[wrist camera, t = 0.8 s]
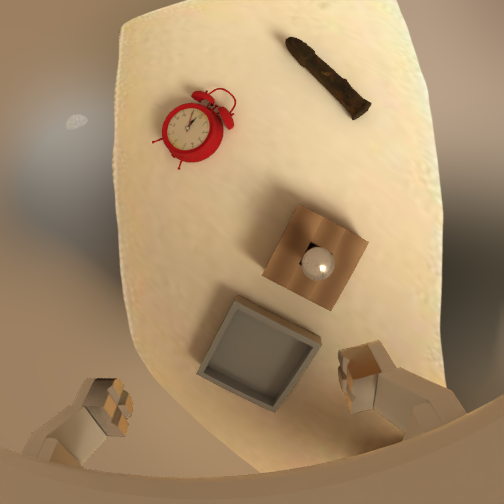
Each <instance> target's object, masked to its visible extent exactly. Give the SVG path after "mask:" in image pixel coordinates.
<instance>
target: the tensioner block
mask: <svg viewBox="0 0 504 504" xmlns="http://www.w3.org/2000/svg"><path fill="white" fill-rule="evenodd" d="M368 243H369V242H368V241H366V240H364V239H362V238H361V237H359V236H357V235H355V234H354V233H352V232H350V231H348V230H346V229H345V228H343V227H341V226H339V225H337V224H335V223H334V222H332V221H330V220H328V219H326V218H324V217H322V216H320V215H319V214H317V213H315V212H313V211H311V210H309V209H307V208H305V207H303V206H301V205H300V204H298V206H297V208H296V210H295V212H294V214H293V216H292V218H291V220H290V222H289V224H288V226H287V228H286V230H285V232H284V234H283V236H282V238H281V239H280V241H279V243H278V245H277V247H276V249H275V251H274V253H273V255H272V257H271V259H270V261H269V263H268V264H267V266H266V268H265V270H264V272H263V274H262V276H264V277H266V278H268V279H269V280H271V281H273V282H275V283H277V284H279V285H281V286H283V287H285V288H287V289H289V290H291V291H292V292H294V293H296V294H298V295H300V296H302V297H304V298H306V299H308V300H310V301H312V302H314V303H316V304H318V305H320V306H322V307H323V308H325V309H327V310H329V311H331V310H332V308H333V307H334V305H335V303H336V301H337V300H338V298H339V296H340V294H341V293H342V291H343V289H344V287H345V286H346V284H347V282H348V280H349V279H350V277H351V275H352V273H353V271H354V269H355V268H356V266H357V264H358V262H359V260H360V258H361V256H362V254H363V253H364V251H365V249H366V247H367V245H368ZM312 246H317V247H322V248H325V249H327V250H328V251H329V252H330V253H331V254H332V256H333V258H334V263H335V264H334V270H333V272H332V273H331V275H330V276H329V277H327V278H326V279H323V280H312V279H310V278H309V277H307V276H306V275H305V273H304V272H303V269H302V258H303V256H304V254H305V253H306V251H307V249H308V248H310V247H312Z"/></svg>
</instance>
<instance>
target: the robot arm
mask: <svg viewBox="0 0 504 504" xmlns="http://www.w3.org/2000/svg"><path fill="white" fill-rule="evenodd" d="M338 359H339V362H340V366H339V367H338V375H339V382H340V386H341V389H342V392H344V393H346V403H347V406H348V408H349V411H350V414H353V413H357V412H361V411H365V410H369V409H373V410H375V411H376V412H377V413H379V414H380V415H382V416H383V417H384V418H386V419H387V420H389V421H390V422H391V423H393V424H394V425H396V426H397V427H398V428H400V429H401V430H403V431H404V432H405V434H404V437H403V440H402V441H401V442H398V443H395V444H392V445H389V446H386V447H383V448H380V449H377V450H373V451H370V452H367V453H363V454H359V455H356V456H352V457H348V458H344V459H340V460H336V461H331V462H327V463H322V464H318V465H313V466H307V467H302V468H296V469H290V470H283V471H276V472H269V473H260V474H251V475H239V476H224V477H192V478H191V477H190V478H189V477H185V478H184V477H155V476H154V477H153V476H140V475H130V474H120V473H111V472H104V471H98V470H91V469H85V468H84V467H82V464H83V463H84V462H85V461H86V460H87V459H88V458H89V457H90V456H91V455H92V453H93V452H94V451H95V450H96V449H97V448H98V447H99V446H100V445H101V444H102V443H103V441H104V440H105V439H106V438H107V436H117V437H125V436H126V433H127V429H128V426H129V423H128V421H127V419H128V418H130V417H131V416H132V412H133V401H132V398H131V396H130V395H129V393H127V392H126V391H124V390H123V388H124V384H123V383H122V381H121V380H120V379H117V378H113V379H112V378H97V379H94V378H93V379H92V378H87V379H86V380H84V382H83V384H82V386H81V388H80V389H79V391H78V393H77V396H76V397H75V400H74V402H73V404H72V406H67V407H66V408H65V409H63V410H62V411H61V412H59V413H58V414H57V415H55V416H54V417H53V418H51V419H50V420H49V421H47V422H46V423H44V424H43V425H42V426H40V427H39V428H38V429H36V430H35V431H34V432H32V433H31V435H30V437H29V439H28V441H27V443H26V445H25V447H24V449H23V452H22V453H19V452H16V451H12V450H9V449H6V448H4V447H1V446H0V504H504V394H503V395H502V396H500V397H498V398H496V399H494V400H493V401H491V402H489V403H487V404H485V405H484V406H482V407H480V408H478V409H476V410H474V411H472V412H470V413H468V414H467V413H466V412H465V410H464V409H463V407H462V406H461V404H460V403H459V401H458V399H457V398H456V396H455V395H454V393H453V392H452V391H451V390H449V389H447V388H444V387H442V386H440V385H438V384H435V383H433V382H431V381H429V380H427V379H424V378H422V377H420V376H418V375H416V374H414V373H411V372H409V371H407V370H405V369H403V368H401V367H400V368H396V366H395V365H394V363H393V361H392V360H391V358H390V356H389V355H388V353H387V351H386V350H385V348H384V346H383V345H382V343H381V341H379V340H377V341H373V342H370V343H366V344H363V345H359V346H355V347H351V348H347V349H343V350H339V352H338Z"/></svg>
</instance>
